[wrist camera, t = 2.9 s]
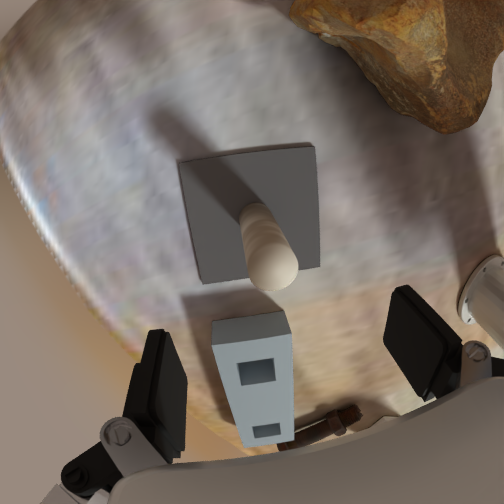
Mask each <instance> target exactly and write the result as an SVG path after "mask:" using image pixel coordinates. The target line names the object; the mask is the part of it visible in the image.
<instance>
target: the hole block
mask: <svg viewBox="0 0 504 504" xmlns="http://www.w3.org/2000/svg"><path fill="white" fill-rule="evenodd" d="M211 346H212V349H213V353H214V356H215V360H216V363H217V366H218V370H219V373H220V376H221V380H222V383H223V386H224V389H225V393H226V396H227V399H228V402H229V405H230V408H231V411H232V414H233V417H234V420H235V423H236V426H237V429H238V432H239V435H240V438H241V440H242V443H243V446H244V448H247V447H255V446H262V445H269V444H276V443H282V442H287V441H293V440H294V389H293V355H292V333H291V330H290V327H289V324H288V321H287V318H286V315H285V312H284V311H279V312H273V313H266V314H260V315H253V316H247V317H240V318H232V319H225V320H217V321H212V343H211Z"/></svg>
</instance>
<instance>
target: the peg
mask: <svg viewBox="0 0 504 504" xmlns="http://www.w3.org/2000/svg"><path fill="white" fill-rule="evenodd" d="M239 222H240V228H241V234H242V240H243V246H244V252H245V258H246V264H247V269H248V275H249V278H250V280H251V282H252V283H253V284H254V285H255V286H256V287H258V288H259V289H262V290H265V291H277V290H281V289H283V288H285V287H287V286H288V285H289V284H291V283H292V281H293V280H294V279H295V277H296V275H297V272H298V261H297V258H296V256H295V254H294V253H293V251H292V249H291V247H290V245H289V243H288V242H287V240H286V238H285V236H284V234H283V233H282V231H281V229H280V227H279V225H278V224H277V222H276V220H275V218H274V216H273V215H272V213H271V211H270V209H269V208H268V207H267V206H266V205H264V204H262V203H257V202H255V203H250V204H248V205H246V206H245V207H244V208H243V209H242V210H241V212H240V215H239Z"/></svg>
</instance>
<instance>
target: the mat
mask: <svg viewBox="0 0 504 504" xmlns="http://www.w3.org/2000/svg"><path fill="white" fill-rule="evenodd" d="M179 168H180V174H181V180H182V185H183V191H184V197H185V202H186V207H187V213H188V218H189V223H190V228H191V233H192V238H193V243H194V247H195V252H196V257H197V261H198V266H199V271H200V275H201V279H202V284H210V283H217V282H224V281H231V280H238V279H245V278H249V275H248V269H247V264H246V258H245V252H244V246H243V240H242V234H241V228H240V222H239V215H240V212H241V210H242V209H243V208H244V207H245V206H246V205H248V204H250V203H255V202H257V203H262V204H264V205H266V206H267V207H268V208H269V209H270V211H271V213H272V215H273V216H274V218H275V220H276V222H277V224H278V225H279V227H280V229H281V231H282V233H283V234H284V236H285V238H286V240H287V242H288V243H289V245H290V247H291V249H292V251H293V253H294V254H295V256H296V258H297V261H298V270H304V269H310V268H316V267H320V229H319V203H318V183H317V167H316V154H315V147H314V146H312V147H298V148H286V149H275V150H265V151H256V152H248V153H240V154H233V155H225V156H219V157H212V158H206V159H200V160H194V161H188V162H183V163H179Z"/></svg>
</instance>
